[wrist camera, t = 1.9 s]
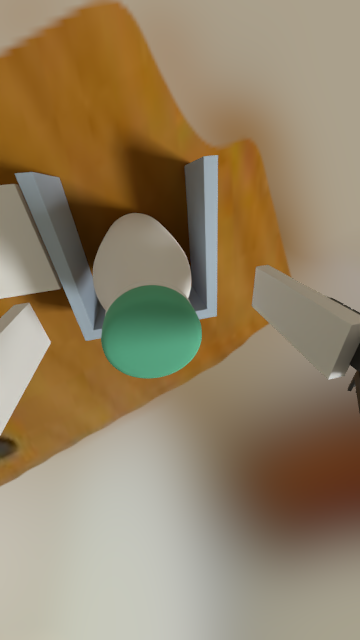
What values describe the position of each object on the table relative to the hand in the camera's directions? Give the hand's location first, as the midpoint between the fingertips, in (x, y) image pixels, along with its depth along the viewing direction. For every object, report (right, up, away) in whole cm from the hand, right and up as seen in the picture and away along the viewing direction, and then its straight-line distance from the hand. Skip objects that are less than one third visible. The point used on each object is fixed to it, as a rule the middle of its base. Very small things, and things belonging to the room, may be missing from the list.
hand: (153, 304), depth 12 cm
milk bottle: (-4, +8, +14) cm, 16 cm away
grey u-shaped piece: (-4, +8, +13) cm, 16 cm away
